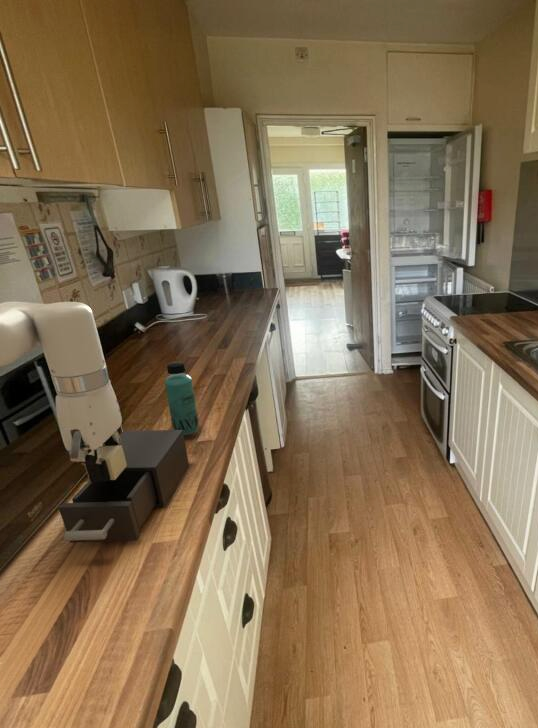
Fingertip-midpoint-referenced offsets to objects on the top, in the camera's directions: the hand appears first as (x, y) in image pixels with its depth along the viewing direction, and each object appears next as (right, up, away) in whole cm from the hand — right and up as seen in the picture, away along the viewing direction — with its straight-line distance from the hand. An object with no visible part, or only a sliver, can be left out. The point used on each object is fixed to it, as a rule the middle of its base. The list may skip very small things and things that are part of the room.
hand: (108, 471), depth 77 cm
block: (0, 0, 0) cm, 0 cm away
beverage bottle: (-2, +2, +35) cm, 36 cm away
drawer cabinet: (-1, -6, +15) cm, 16 cm away
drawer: (0, -10, +3) cm, 11 cm away
